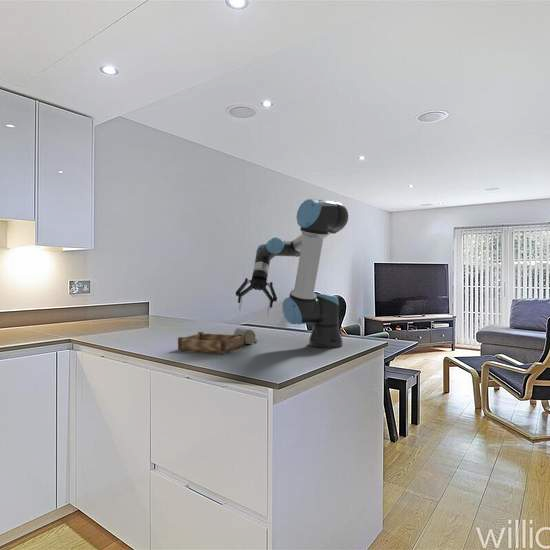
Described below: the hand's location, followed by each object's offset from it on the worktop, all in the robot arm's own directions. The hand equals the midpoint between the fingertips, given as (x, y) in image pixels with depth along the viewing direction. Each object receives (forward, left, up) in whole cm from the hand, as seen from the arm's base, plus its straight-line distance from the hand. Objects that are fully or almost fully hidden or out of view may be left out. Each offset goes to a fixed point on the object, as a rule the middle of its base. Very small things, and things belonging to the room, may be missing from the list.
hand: (253, 311), depth 188 cm
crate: (+11, +21, -15) cm, 28 cm away
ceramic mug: (+2, +3, -15) cm, 16 cm away
